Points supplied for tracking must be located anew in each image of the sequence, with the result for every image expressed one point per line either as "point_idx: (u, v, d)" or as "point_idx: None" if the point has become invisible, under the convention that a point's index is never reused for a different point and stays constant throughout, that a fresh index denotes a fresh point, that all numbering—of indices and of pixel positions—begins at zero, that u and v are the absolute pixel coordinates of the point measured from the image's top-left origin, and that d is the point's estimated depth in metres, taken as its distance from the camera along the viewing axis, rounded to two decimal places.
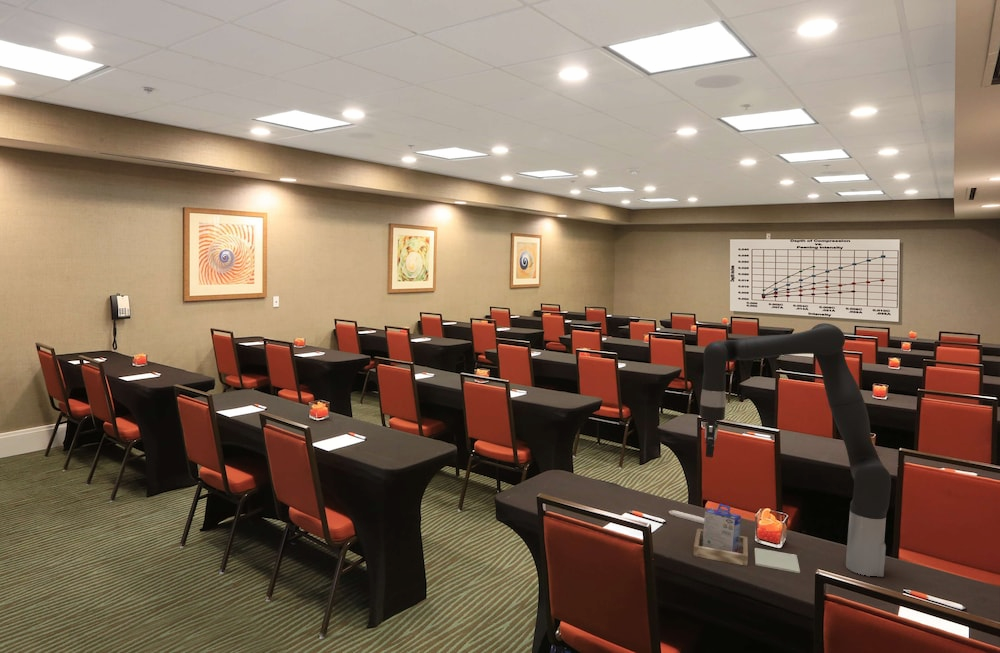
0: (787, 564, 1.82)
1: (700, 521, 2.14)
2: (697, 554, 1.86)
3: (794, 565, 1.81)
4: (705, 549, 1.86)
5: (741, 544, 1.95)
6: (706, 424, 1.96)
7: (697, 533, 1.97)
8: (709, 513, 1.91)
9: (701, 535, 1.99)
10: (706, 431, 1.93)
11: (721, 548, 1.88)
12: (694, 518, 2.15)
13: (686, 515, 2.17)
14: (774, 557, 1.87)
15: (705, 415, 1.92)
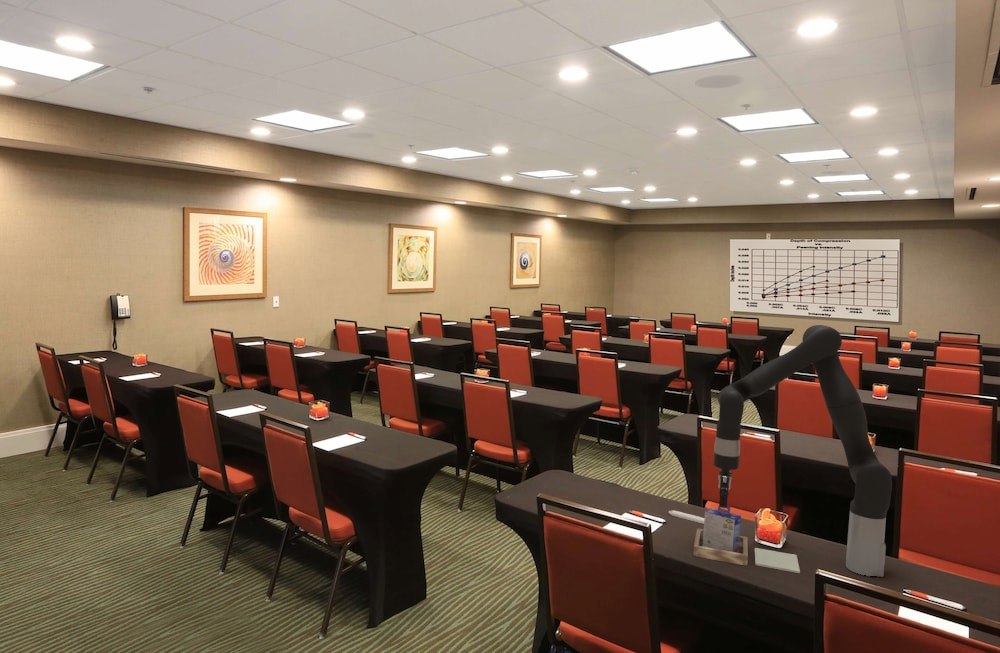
0: (787, 564, 1.82)
1: (700, 521, 2.13)
2: (697, 554, 1.86)
3: (794, 565, 1.81)
4: (705, 549, 1.86)
5: (741, 544, 1.95)
6: (719, 472, 1.91)
7: (697, 533, 1.97)
8: (709, 513, 1.91)
9: (701, 535, 1.99)
10: (720, 480, 1.87)
11: (721, 548, 1.88)
12: (694, 518, 2.15)
13: (686, 515, 2.17)
14: (774, 557, 1.87)
15: (719, 464, 1.87)
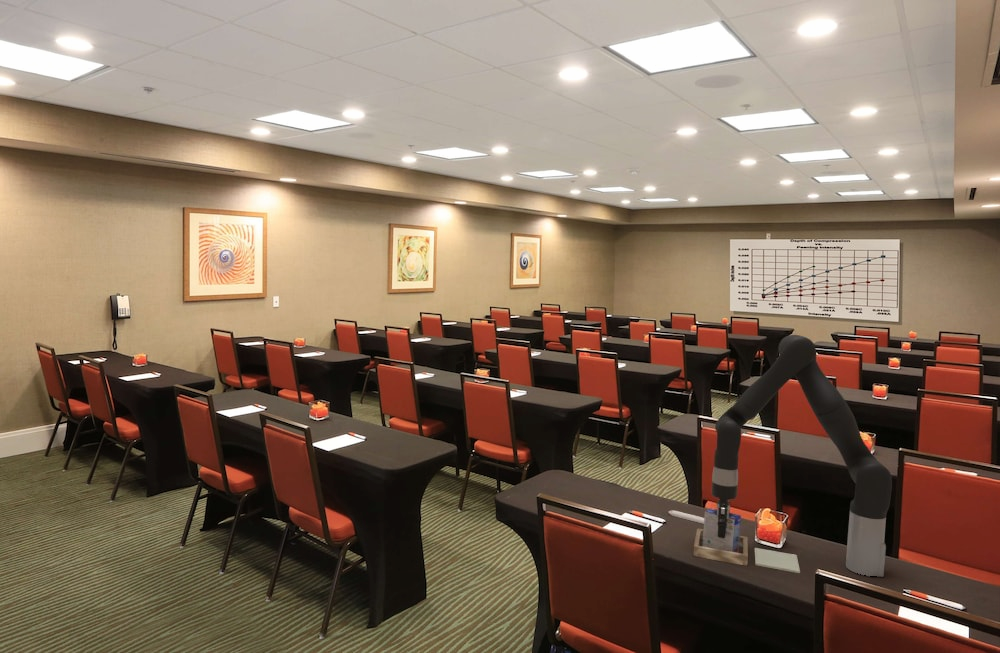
0: (787, 564, 1.82)
1: (700, 521, 2.14)
2: (697, 554, 1.86)
3: (794, 565, 1.81)
4: (705, 549, 1.86)
5: (741, 544, 1.95)
6: (718, 501, 1.92)
7: (697, 533, 1.97)
8: (709, 513, 1.91)
9: (701, 535, 1.99)
10: (718, 510, 1.88)
11: (721, 548, 1.88)
12: (694, 518, 2.15)
13: (686, 515, 2.17)
14: (774, 557, 1.87)
15: (717, 493, 1.88)
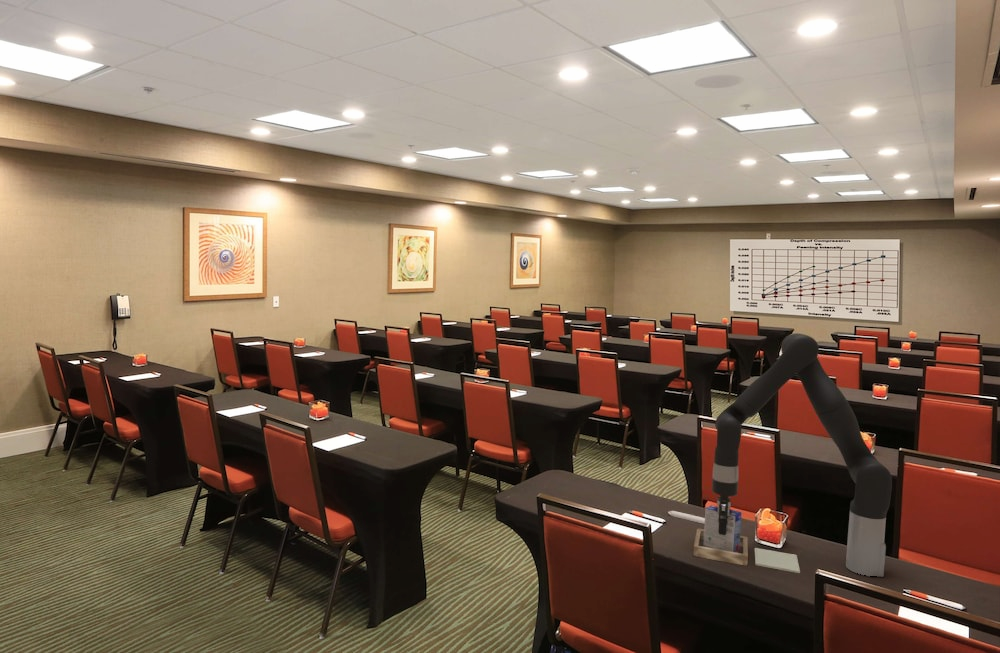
0: (787, 564, 1.82)
1: (700, 521, 2.14)
2: (697, 554, 1.86)
3: (794, 565, 1.81)
4: (705, 549, 1.86)
5: (741, 544, 1.95)
6: (718, 498, 1.91)
7: (697, 533, 1.97)
8: (710, 510, 1.91)
9: (701, 535, 1.99)
10: (718, 507, 1.88)
11: (722, 545, 1.88)
12: (694, 518, 2.15)
13: (686, 515, 2.17)
14: (774, 557, 1.87)
15: (718, 490, 1.87)
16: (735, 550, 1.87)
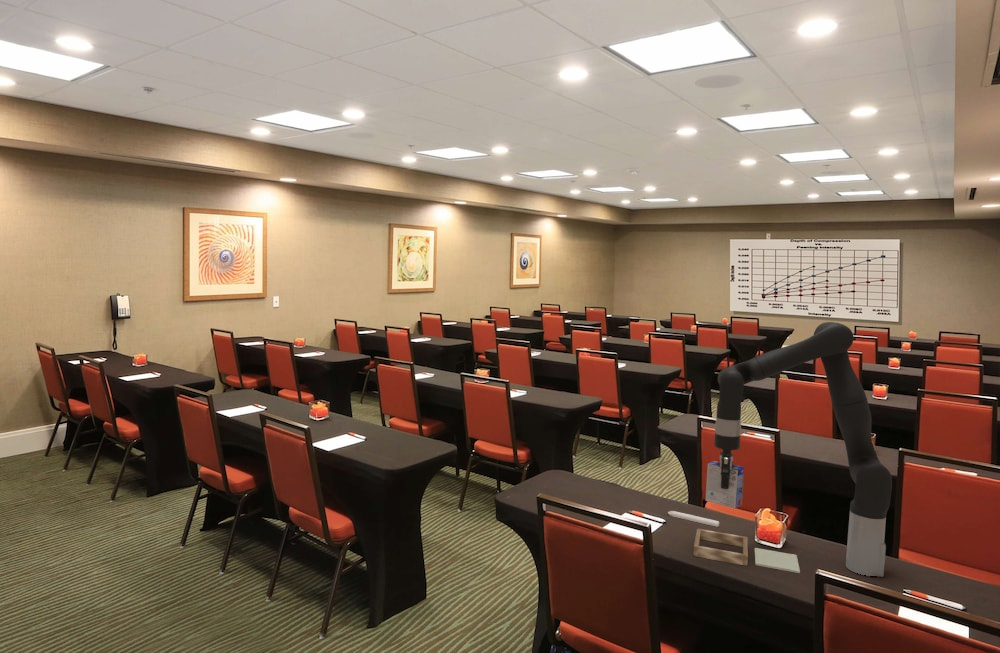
0: (787, 564, 1.82)
1: (700, 521, 2.14)
2: (697, 554, 1.86)
3: (794, 565, 1.81)
4: (705, 549, 1.86)
5: (741, 544, 1.95)
6: (721, 453, 1.91)
7: (697, 533, 1.97)
8: (712, 465, 1.90)
9: (701, 535, 1.99)
10: (721, 461, 1.87)
11: (724, 500, 1.87)
12: (694, 518, 2.15)
13: (686, 515, 2.17)
14: (774, 557, 1.87)
15: (720, 444, 1.87)
16: (737, 504, 1.86)
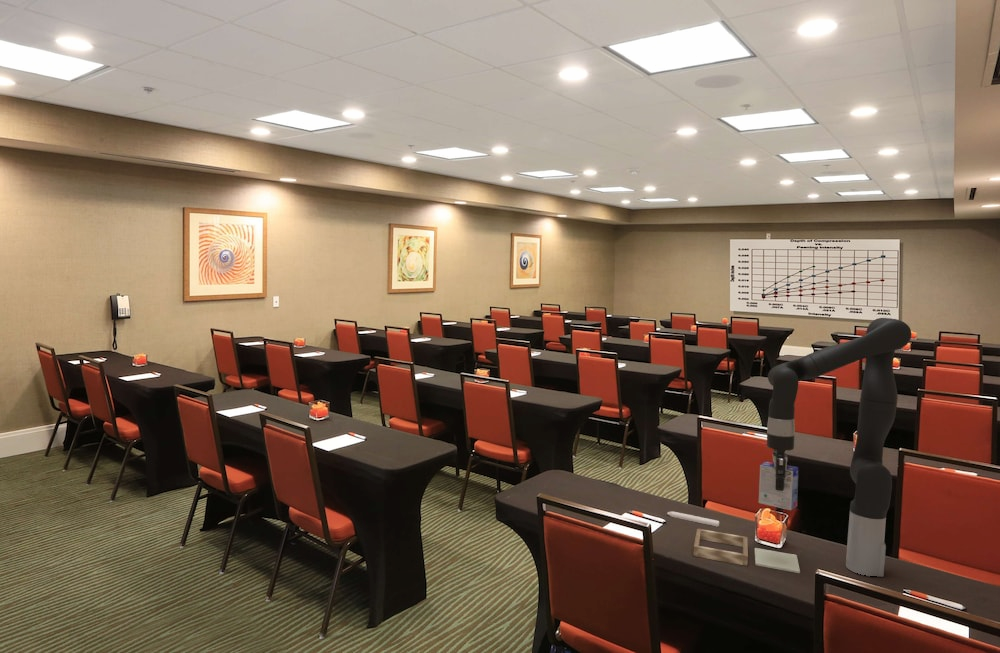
0: (787, 564, 1.82)
1: (700, 521, 2.14)
2: (697, 554, 1.86)
3: (794, 565, 1.81)
4: (705, 549, 1.86)
5: (741, 544, 1.95)
6: (773, 453, 1.85)
7: (697, 533, 1.97)
8: (765, 466, 1.84)
9: (701, 535, 1.99)
10: (775, 462, 1.82)
11: (779, 502, 1.82)
12: (694, 518, 2.15)
13: (686, 516, 2.16)
14: (774, 557, 1.87)
15: (774, 445, 1.81)
16: (793, 506, 1.80)
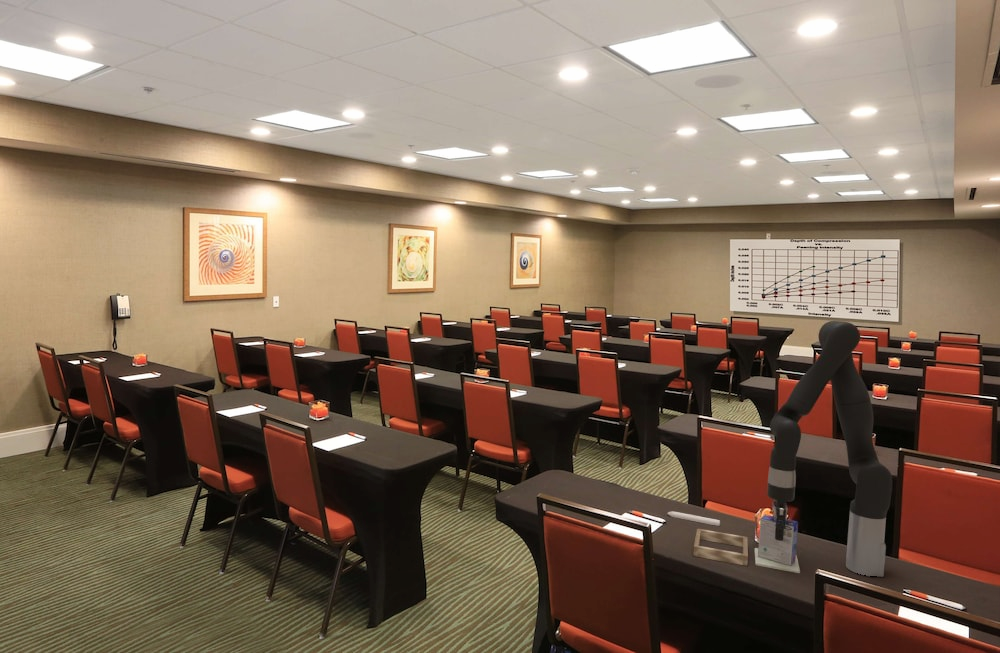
0: None
1: (701, 521, 2.14)
2: (697, 554, 1.86)
3: (794, 565, 1.81)
4: (705, 549, 1.86)
5: (741, 544, 1.95)
6: (774, 503, 1.86)
7: (697, 533, 1.97)
8: (765, 520, 1.85)
9: (701, 535, 1.99)
10: (775, 512, 1.82)
11: (778, 556, 1.83)
12: (695, 518, 2.15)
13: (686, 515, 2.16)
14: None
15: (775, 495, 1.82)
16: (792, 561, 1.82)
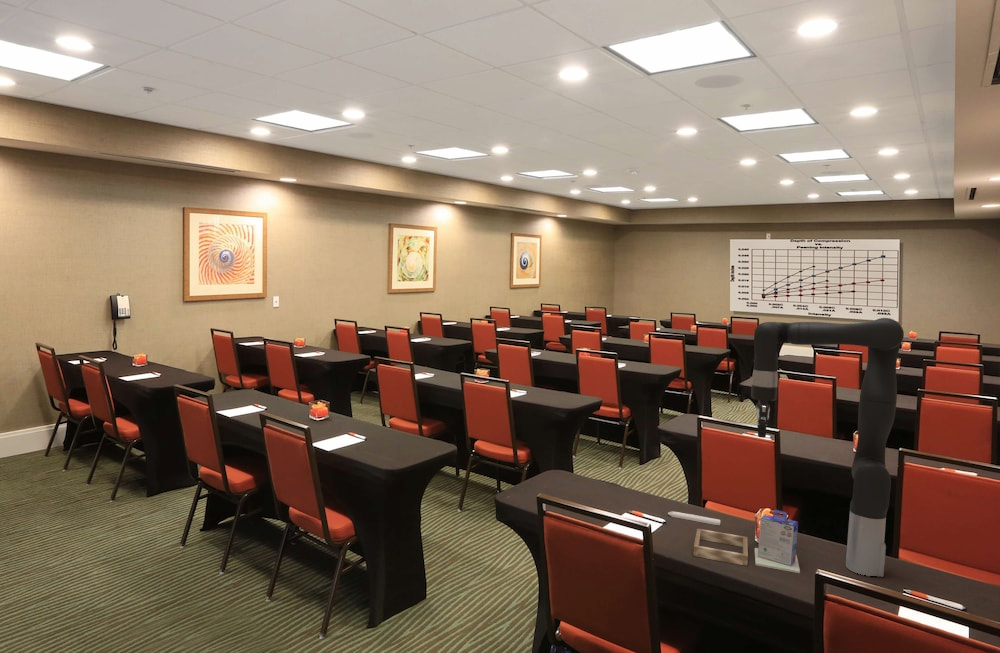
0: None
1: (702, 520, 2.14)
2: (697, 554, 1.86)
3: (794, 565, 1.81)
4: (705, 549, 1.86)
5: (741, 544, 1.95)
6: (757, 405, 1.96)
7: (697, 533, 1.97)
8: (765, 520, 1.85)
9: (701, 535, 1.99)
10: (758, 411, 1.93)
11: (778, 556, 1.83)
12: (695, 518, 2.15)
13: (687, 515, 2.16)
14: None
15: (758, 395, 1.92)
16: (792, 561, 1.82)
